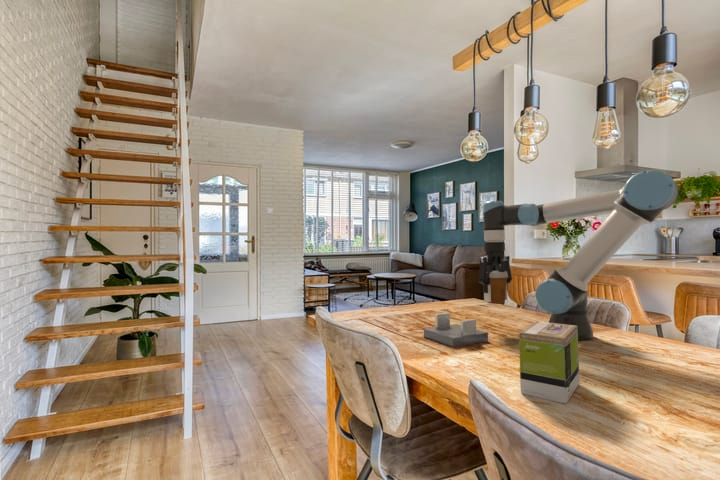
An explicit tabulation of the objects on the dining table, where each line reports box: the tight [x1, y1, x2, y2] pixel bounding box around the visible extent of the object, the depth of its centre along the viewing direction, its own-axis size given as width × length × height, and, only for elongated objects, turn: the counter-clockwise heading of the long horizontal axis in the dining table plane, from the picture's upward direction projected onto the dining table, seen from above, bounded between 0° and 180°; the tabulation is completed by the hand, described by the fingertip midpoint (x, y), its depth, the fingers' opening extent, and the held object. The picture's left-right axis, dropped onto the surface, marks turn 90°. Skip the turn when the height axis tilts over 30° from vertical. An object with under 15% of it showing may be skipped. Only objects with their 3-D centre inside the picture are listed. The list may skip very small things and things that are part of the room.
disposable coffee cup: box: [486, 270, 509, 305], centre depth 149 cm, size 10×10×12 cm
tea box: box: [518, 320, 580, 404], centre depth 93 cm, size 15×10×15 cm, turn 141°
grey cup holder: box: [423, 312, 489, 348], centre depth 140 cm, size 16×16×8 cm
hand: (495, 300), depth 149 cm, fingers closed on disposable coffee cup, 8 cm apart
